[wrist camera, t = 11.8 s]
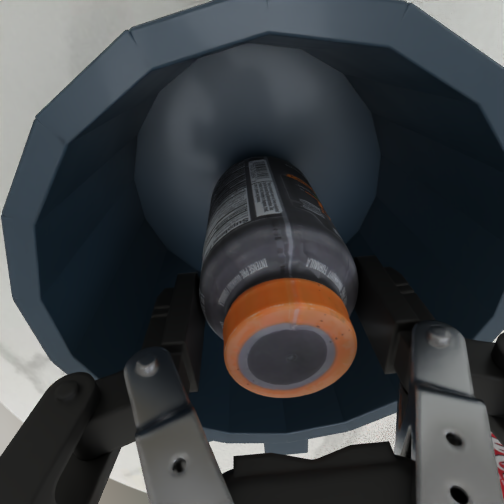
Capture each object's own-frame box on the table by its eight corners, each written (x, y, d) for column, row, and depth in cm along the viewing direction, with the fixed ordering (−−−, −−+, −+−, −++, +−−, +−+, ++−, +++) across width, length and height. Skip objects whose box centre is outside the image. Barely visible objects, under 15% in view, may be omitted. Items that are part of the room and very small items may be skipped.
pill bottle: (324, 226, 20) (408, 390, 10) (236, 260, 21) (240, 438, 11) (292, 134, 17) (369, 245, 7) (191, 179, 18) (146, 328, 8)
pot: (166, 321, 28) (125, 484, 18) (61, -24, 16) (-275, -164, 5) (369, 301, 28) (451, 453, 18) (422, -59, 16) (794, -270, 5)
